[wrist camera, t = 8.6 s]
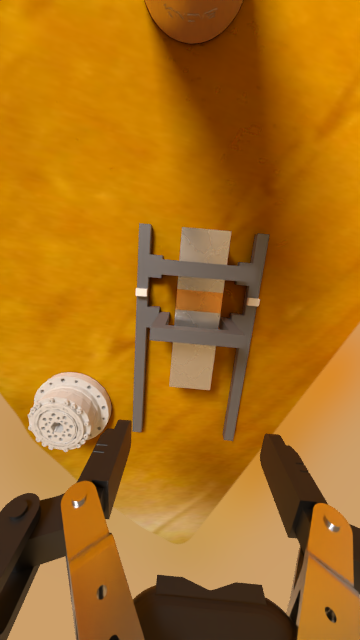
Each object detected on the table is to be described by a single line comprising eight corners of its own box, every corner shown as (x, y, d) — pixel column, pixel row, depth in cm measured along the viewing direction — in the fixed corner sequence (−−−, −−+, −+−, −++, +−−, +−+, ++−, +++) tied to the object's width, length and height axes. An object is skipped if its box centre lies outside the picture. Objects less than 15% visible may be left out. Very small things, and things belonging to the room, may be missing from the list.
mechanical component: (88, 445, 30) (126, 399, 28) (71, 474, 26) (115, 423, 24) (28, 407, 29) (64, 356, 27) (0, 431, 24) (40, 373, 22)
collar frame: (141, 225, 22) (122, 207, 16) (265, 236, 22) (299, 221, 16) (134, 425, 29) (118, 472, 22) (231, 434, 28) (244, 484, 22)
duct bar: (182, 235, 22) (182, 227, 18) (222, 238, 22) (231, 231, 18) (172, 367, 26) (169, 386, 22) (206, 370, 26) (210, 390, 22)
